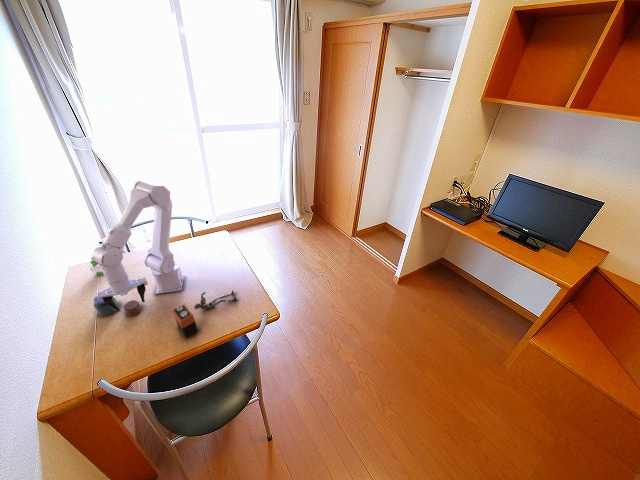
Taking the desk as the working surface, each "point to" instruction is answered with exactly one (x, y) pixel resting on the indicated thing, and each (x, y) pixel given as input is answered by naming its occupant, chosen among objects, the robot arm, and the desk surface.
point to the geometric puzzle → (96, 267)
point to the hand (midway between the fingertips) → (131, 305)
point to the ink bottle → (103, 307)
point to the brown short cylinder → (132, 307)
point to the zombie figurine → (212, 303)
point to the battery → (185, 320)
